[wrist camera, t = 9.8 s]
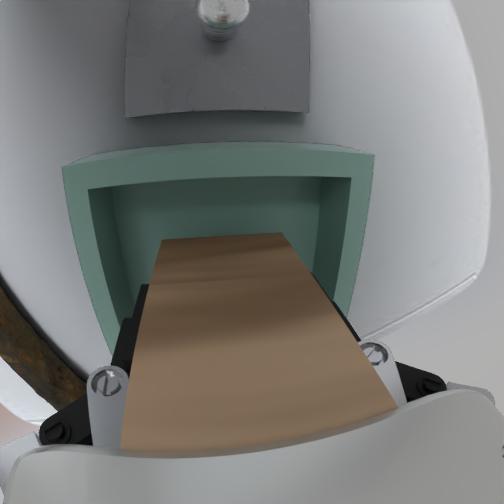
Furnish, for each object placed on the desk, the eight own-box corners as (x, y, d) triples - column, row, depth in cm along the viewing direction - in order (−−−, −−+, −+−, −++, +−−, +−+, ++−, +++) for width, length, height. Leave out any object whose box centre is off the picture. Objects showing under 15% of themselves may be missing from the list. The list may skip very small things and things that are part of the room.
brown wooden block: (161, 239, 11) (119, 459, 3) (281, 232, 12) (403, 415, 4) (176, 333, 13) (178, 513, 5) (275, 324, 14) (338, 490, 6)
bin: (93, 154, 11) (61, 167, 8) (337, 144, 13) (374, 154, 10) (134, 346, 17) (126, 388, 14) (313, 331, 19) (332, 368, 15)
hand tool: (115, 393, 19) (108, 440, 15) (82, 399, 19) (73, 442, 15) (-27, 182, 10) (-74, 207, 6) (-51, 211, 10) (-91, 238, 6)
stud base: (138, -24, 7) (122, -62, 4) (300, -23, 9) (331, -57, 5) (130, 117, 11) (101, 117, 7) (301, 112, 12) (338, 112, 9)
